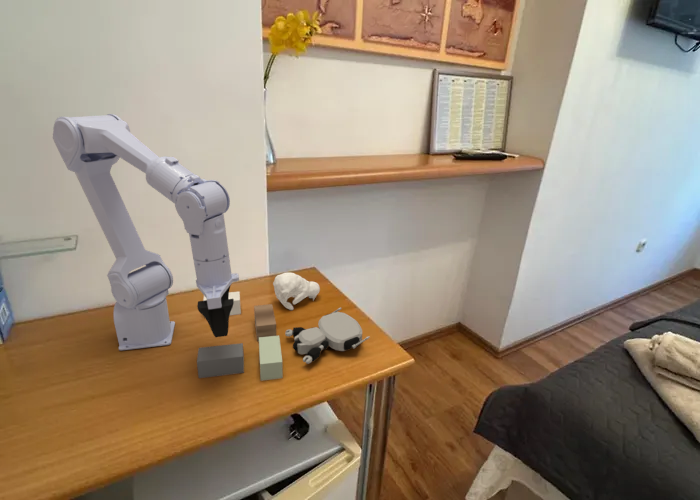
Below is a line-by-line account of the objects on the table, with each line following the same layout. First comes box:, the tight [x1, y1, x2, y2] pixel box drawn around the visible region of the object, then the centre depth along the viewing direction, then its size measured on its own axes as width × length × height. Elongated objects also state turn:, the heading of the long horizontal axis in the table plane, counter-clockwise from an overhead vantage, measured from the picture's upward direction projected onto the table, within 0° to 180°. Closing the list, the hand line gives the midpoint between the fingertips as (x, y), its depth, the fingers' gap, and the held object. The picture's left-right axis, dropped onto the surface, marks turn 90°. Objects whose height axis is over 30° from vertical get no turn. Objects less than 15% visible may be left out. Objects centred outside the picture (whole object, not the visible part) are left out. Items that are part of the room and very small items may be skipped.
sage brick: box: [258, 335, 284, 382], centre depth 75 cm, size 8×4×4 cm, turn 14°
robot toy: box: [284, 307, 371, 365], centre depth 81 cm, size 12×4×15 cm
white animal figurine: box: [272, 272, 321, 311], centre depth 95 cm, size 6×8×12 cm
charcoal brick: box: [196, 342, 245, 379], centre depth 73 cm, size 8×4×4 cm, turn 105°
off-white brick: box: [202, 291, 242, 316], centre depth 90 cm, size 8×4×4 cm, turn 106°
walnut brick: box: [253, 303, 277, 342], centre depth 85 cm, size 8×4×4 cm, turn 16°
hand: (221, 323), depth 70 cm, fingers open, 7 cm apart
